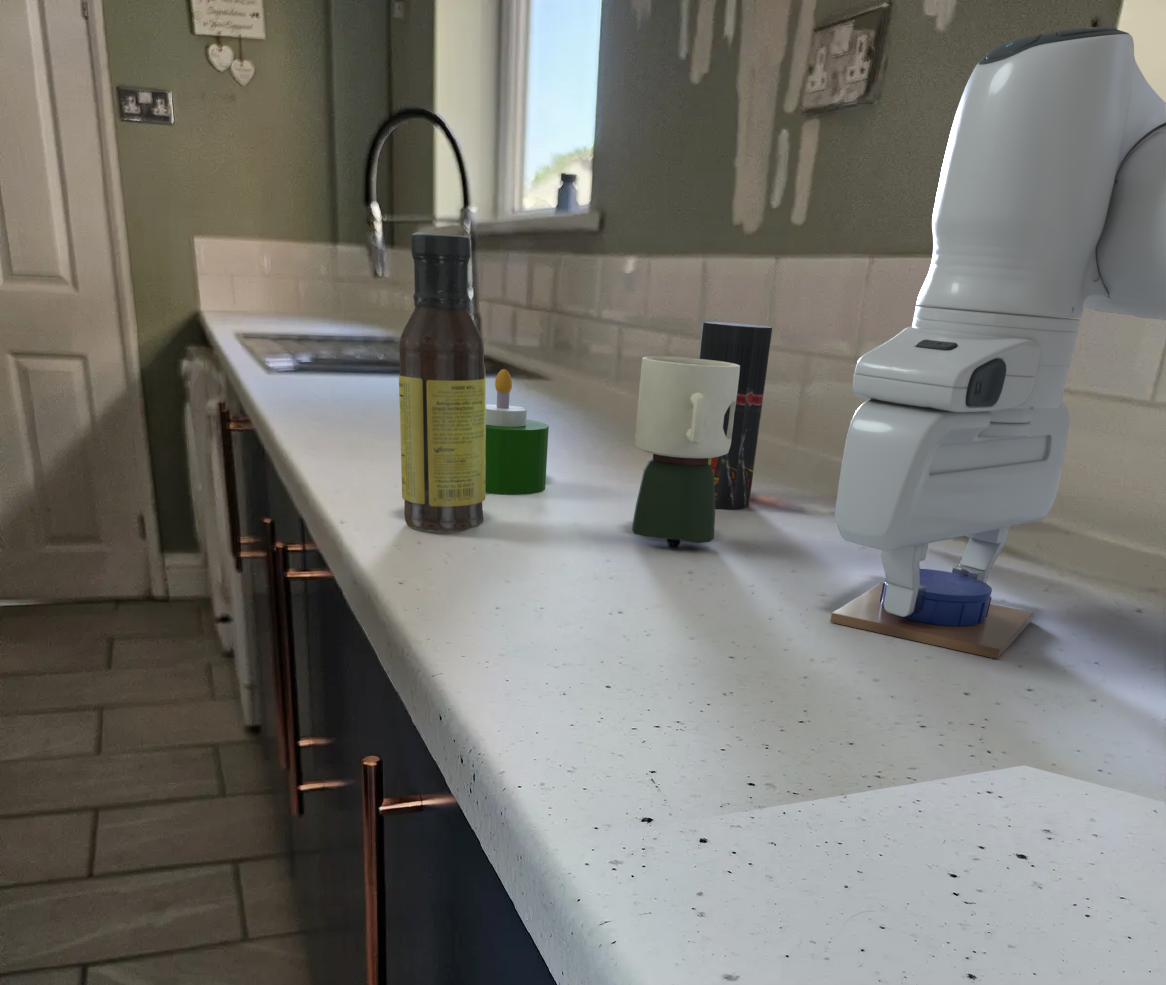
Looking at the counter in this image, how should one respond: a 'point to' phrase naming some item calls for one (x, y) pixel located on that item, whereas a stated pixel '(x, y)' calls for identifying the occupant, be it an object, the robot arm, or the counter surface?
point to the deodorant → (739, 404)
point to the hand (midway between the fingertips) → (934, 604)
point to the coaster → (936, 626)
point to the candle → (513, 446)
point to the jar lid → (950, 599)
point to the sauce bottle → (442, 392)
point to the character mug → (682, 444)
